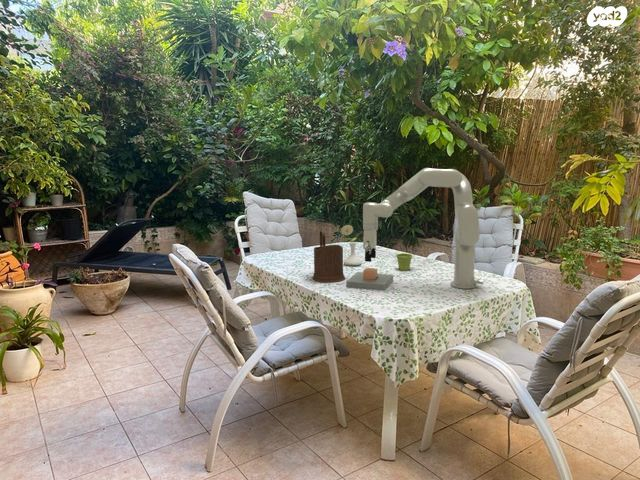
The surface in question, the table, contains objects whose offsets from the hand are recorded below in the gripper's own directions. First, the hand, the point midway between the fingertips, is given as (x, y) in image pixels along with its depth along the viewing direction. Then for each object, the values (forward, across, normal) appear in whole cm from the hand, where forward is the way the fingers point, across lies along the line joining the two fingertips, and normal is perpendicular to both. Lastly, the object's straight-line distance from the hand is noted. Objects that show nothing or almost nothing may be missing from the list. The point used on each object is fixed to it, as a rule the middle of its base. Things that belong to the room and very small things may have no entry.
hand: (370, 259), depth 231 cm
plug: (+12, 0, 0) cm, 12 cm away
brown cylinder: (+13, -5, -26) cm, 30 cm away
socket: (+13, 0, 0) cm, 13 cm away
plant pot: (+13, -35, +11) cm, 39 cm away
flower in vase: (+13, -37, -22) cm, 45 cm away
